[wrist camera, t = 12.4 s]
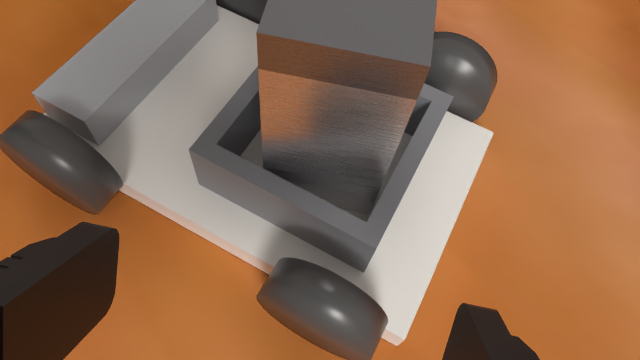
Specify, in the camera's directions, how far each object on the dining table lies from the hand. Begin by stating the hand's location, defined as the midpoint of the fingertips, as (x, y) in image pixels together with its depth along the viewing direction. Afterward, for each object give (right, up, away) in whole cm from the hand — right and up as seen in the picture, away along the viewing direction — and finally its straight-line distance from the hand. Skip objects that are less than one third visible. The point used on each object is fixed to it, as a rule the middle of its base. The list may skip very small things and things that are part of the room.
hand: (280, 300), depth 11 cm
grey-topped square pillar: (+1, +4, +12) cm, 13 cm away
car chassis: (-2, +5, +14) cm, 15 cm away
